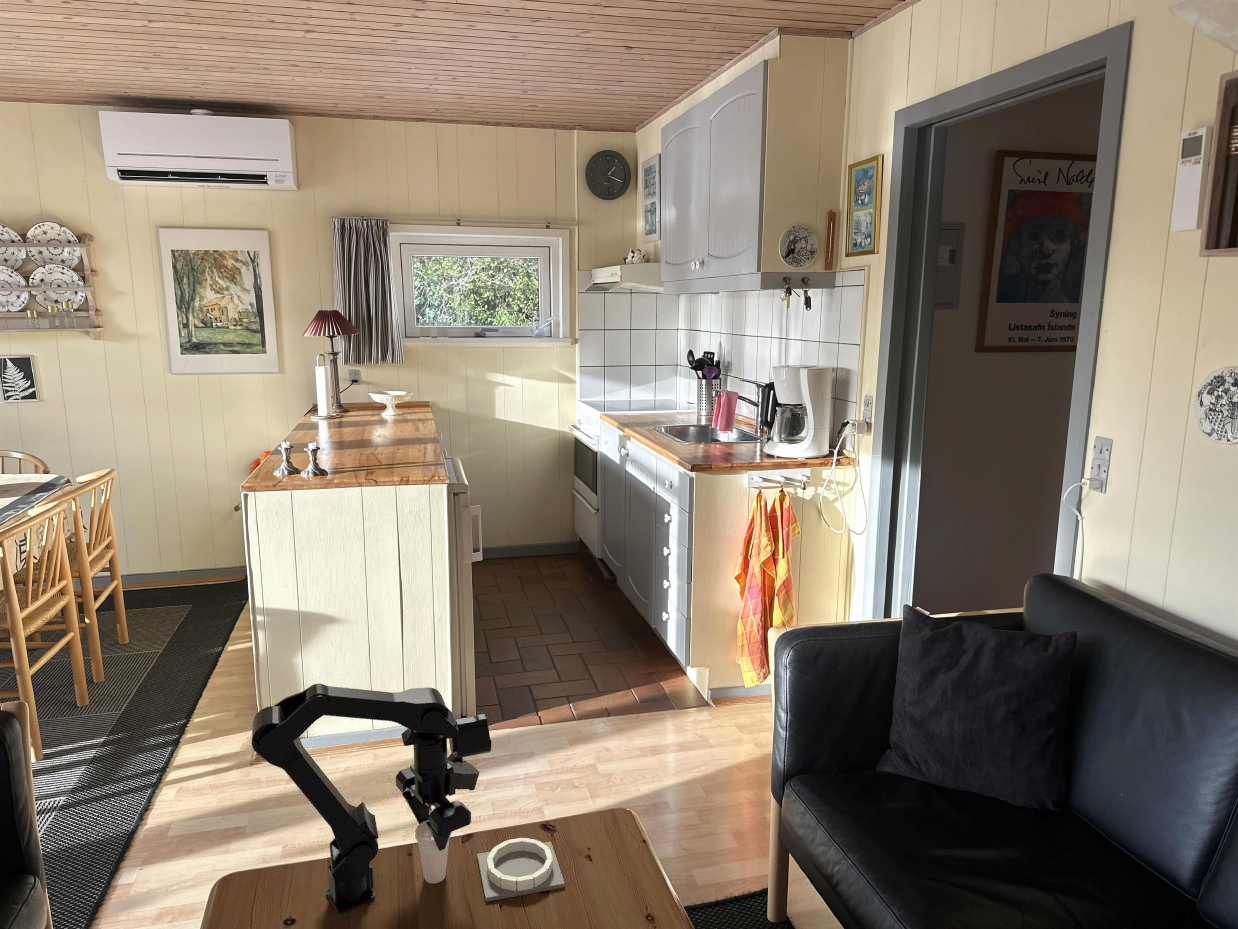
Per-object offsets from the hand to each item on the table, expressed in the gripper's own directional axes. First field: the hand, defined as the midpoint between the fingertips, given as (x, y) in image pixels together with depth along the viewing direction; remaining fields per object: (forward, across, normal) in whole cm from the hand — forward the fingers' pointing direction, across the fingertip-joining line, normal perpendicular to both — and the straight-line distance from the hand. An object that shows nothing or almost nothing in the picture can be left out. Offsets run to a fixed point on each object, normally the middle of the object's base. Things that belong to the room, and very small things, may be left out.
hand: (433, 839), depth 153 cm
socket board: (+8, -8, -13) cm, 17 cm away
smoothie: (+8, 0, 0) cm, 8 cm away
